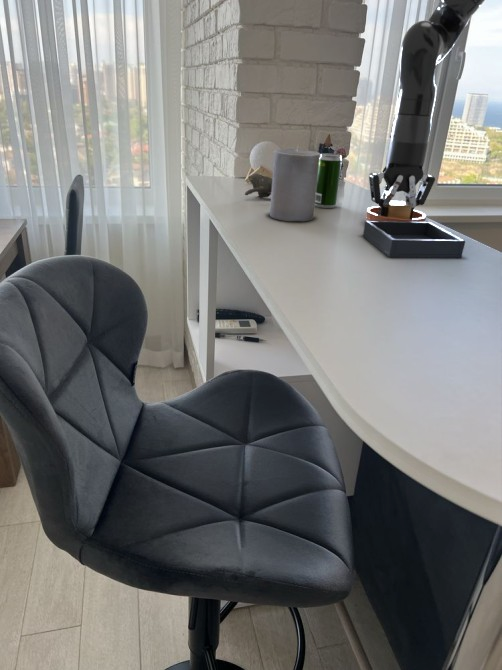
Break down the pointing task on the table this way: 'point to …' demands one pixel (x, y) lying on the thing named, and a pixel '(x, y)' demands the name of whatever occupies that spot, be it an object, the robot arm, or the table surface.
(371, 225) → the tray
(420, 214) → the plate
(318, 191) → the beer can
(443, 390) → the table surface
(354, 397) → the table surface
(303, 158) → the pillar candle
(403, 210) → the block
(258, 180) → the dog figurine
